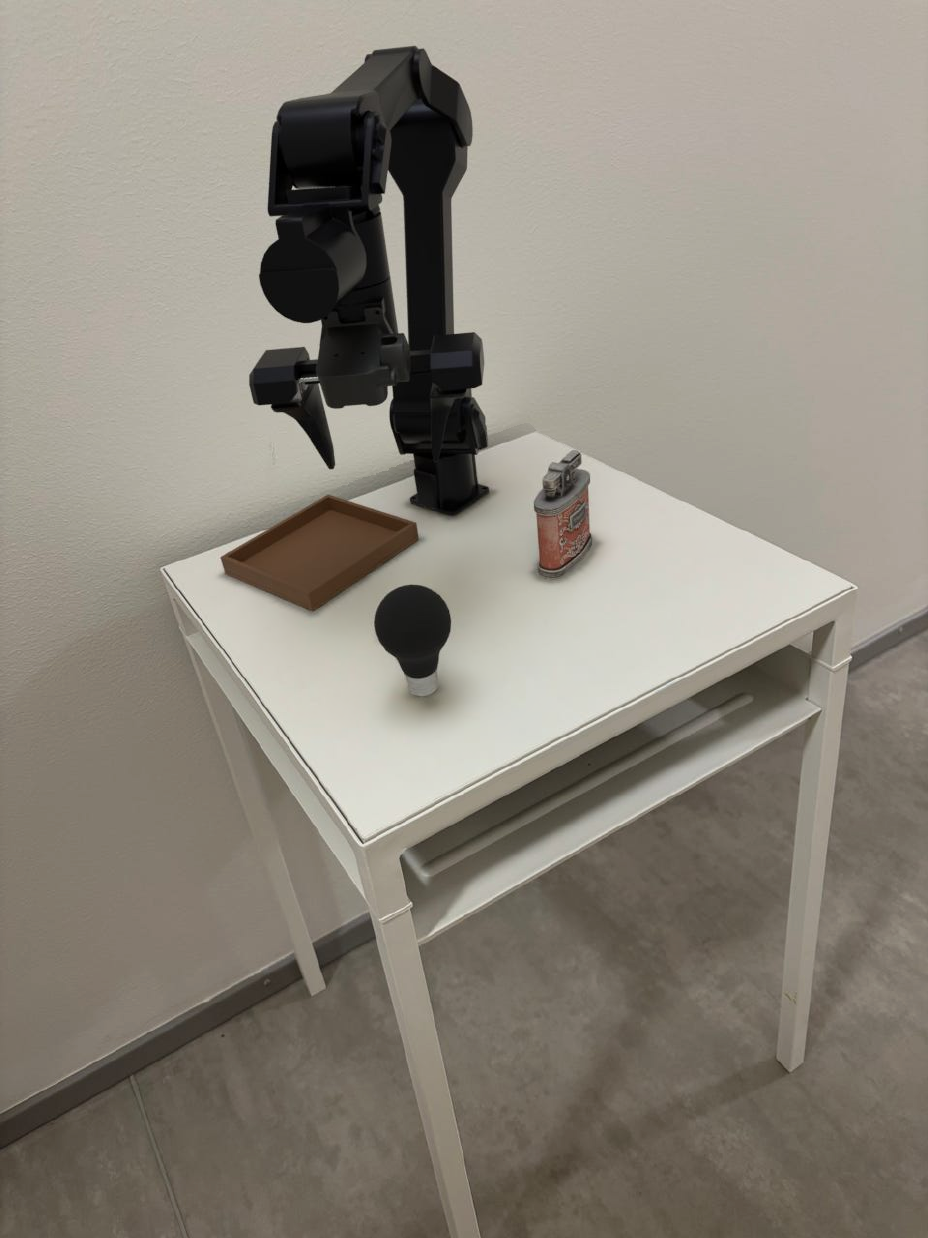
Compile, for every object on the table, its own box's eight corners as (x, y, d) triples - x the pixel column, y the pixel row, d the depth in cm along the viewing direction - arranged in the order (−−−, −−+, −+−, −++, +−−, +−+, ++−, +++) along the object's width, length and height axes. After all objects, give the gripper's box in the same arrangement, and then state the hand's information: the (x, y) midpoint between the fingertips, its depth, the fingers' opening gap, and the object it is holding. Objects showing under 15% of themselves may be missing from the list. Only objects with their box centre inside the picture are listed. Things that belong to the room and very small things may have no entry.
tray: (331, 510, 104) (328, 494, 103) (419, 539, 97) (416, 522, 96) (225, 573, 95) (220, 557, 94) (312, 611, 88) (308, 593, 87)
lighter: (562, 582, 88) (557, 485, 82) (530, 574, 89) (523, 479, 84) (599, 540, 93) (597, 447, 87) (568, 534, 95) (564, 441, 89)
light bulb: (374, 708, 75) (353, 604, 70) (411, 665, 80) (394, 564, 74) (438, 726, 73) (422, 619, 67) (473, 681, 77) (460, 577, 71)
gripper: (209, 324, 68) (258, 515, 77) (468, 300, 66) (488, 500, 75) (246, 280, 77) (286, 456, 86) (475, 258, 75) (492, 440, 84)
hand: (384, 463), depth 82 cm, fingers open, 9 cm apart
